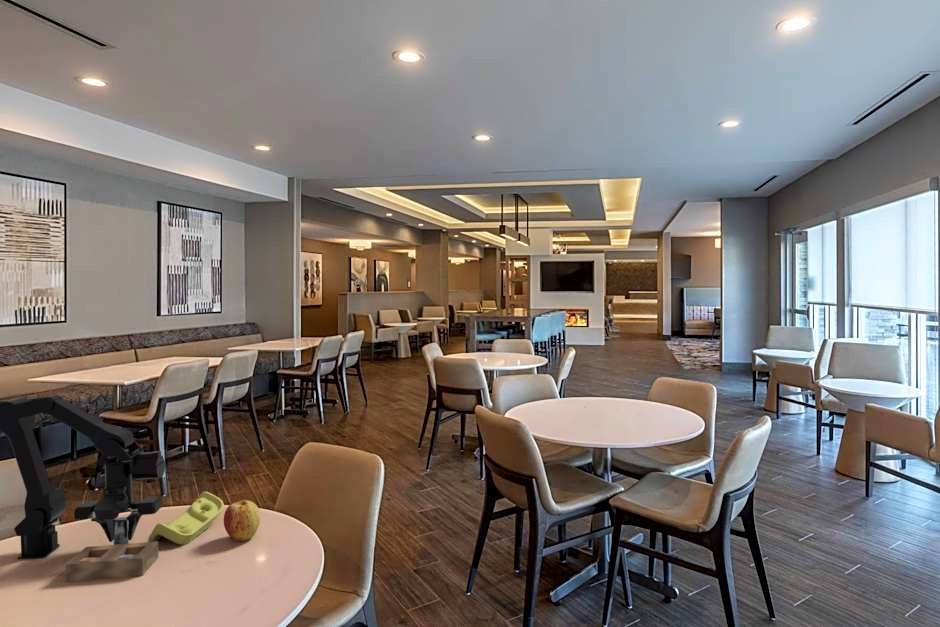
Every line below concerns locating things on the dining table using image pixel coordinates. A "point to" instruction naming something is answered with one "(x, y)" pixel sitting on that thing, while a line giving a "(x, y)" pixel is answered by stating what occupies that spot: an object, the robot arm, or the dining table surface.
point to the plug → (120, 531)
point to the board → (112, 561)
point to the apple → (242, 520)
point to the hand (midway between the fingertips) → (120, 540)
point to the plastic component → (190, 520)
